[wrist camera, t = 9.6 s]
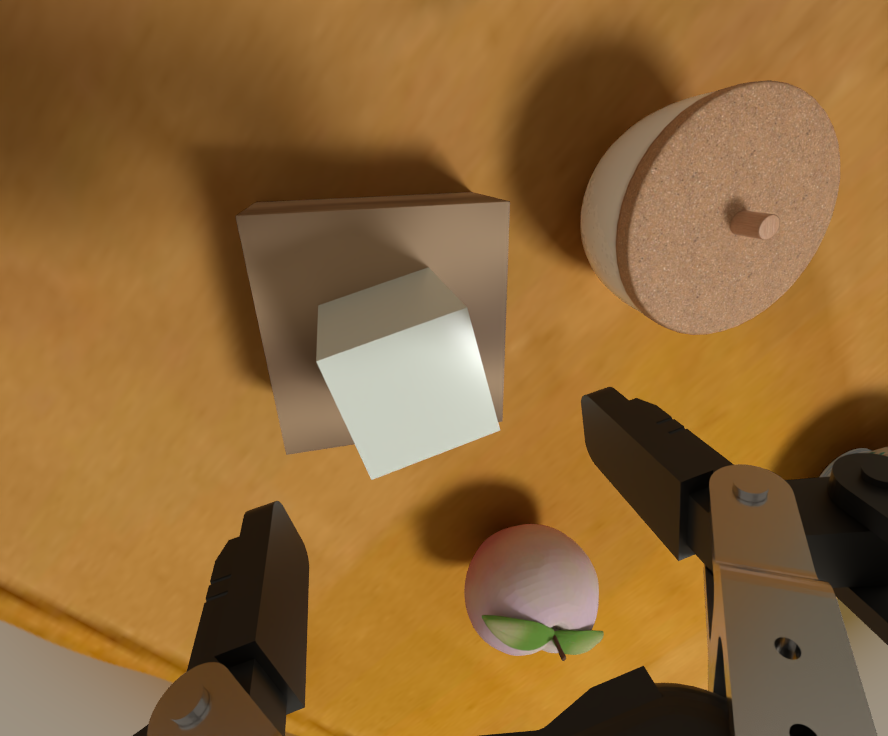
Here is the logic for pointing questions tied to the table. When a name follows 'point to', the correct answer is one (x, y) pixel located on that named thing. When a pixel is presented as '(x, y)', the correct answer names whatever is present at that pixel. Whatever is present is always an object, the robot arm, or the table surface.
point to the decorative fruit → (533, 592)
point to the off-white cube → (404, 371)
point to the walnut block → (366, 284)
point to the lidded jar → (713, 205)
